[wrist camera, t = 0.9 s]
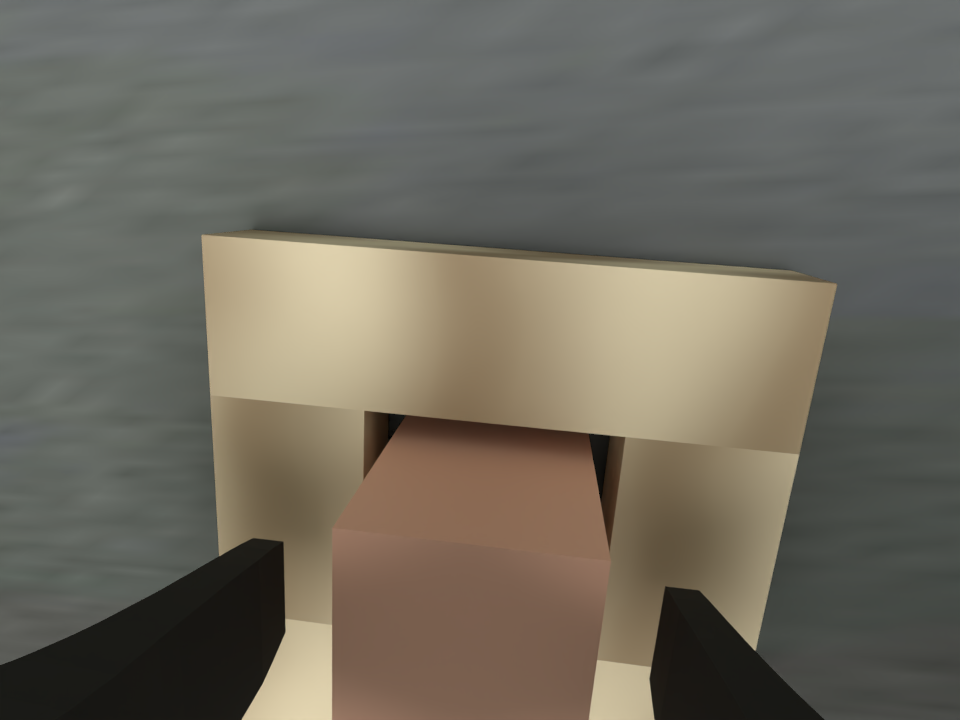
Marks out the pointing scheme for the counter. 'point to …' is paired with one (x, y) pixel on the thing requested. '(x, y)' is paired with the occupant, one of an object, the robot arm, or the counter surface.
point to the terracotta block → (470, 577)
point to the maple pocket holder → (510, 413)
